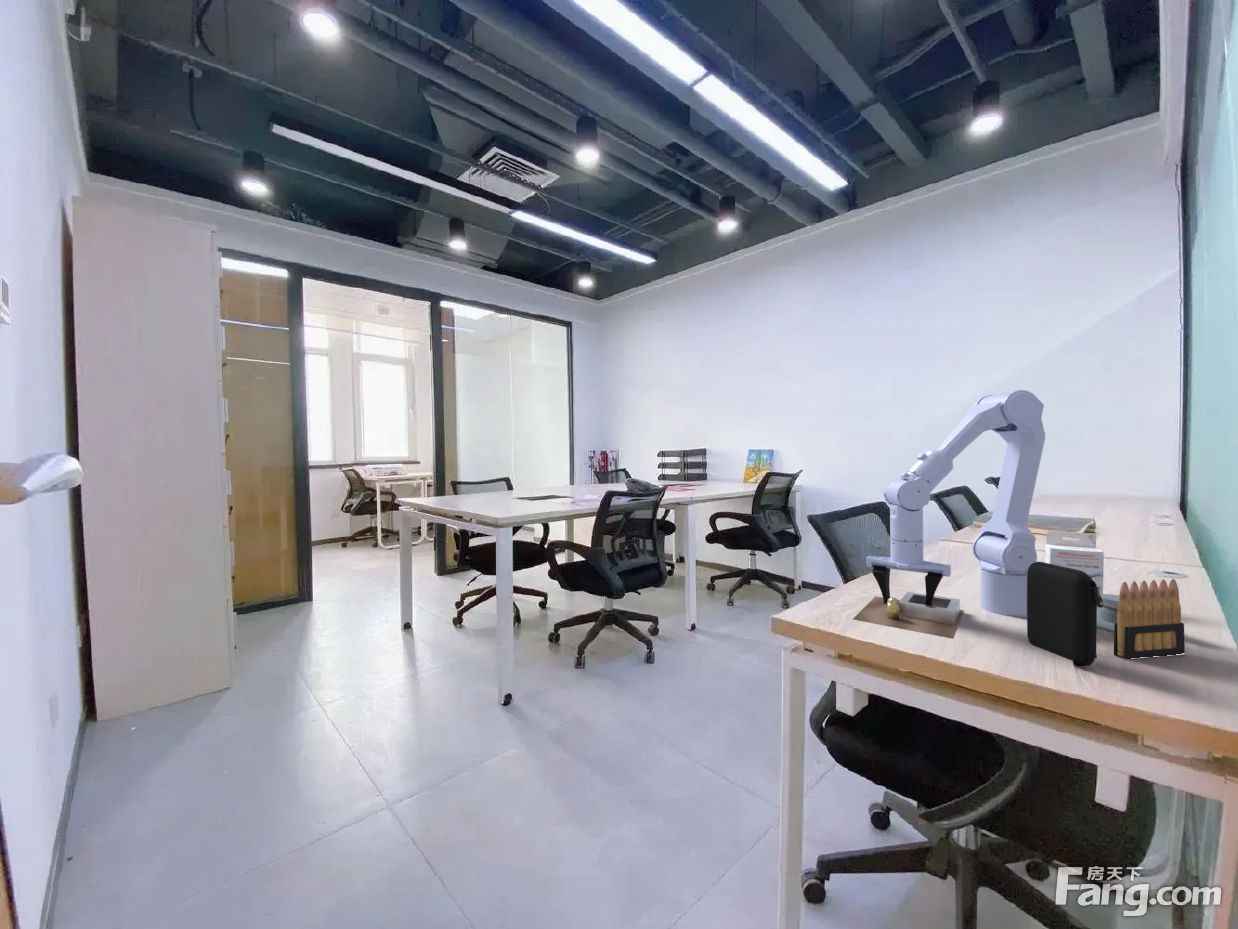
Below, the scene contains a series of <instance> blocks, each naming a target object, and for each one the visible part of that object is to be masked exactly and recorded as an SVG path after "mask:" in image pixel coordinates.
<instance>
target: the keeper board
mask: <svg viewBox="0 0 1238 929" xmlns="http://www.w3.org/2000/svg"><path fill="white" fill-rule="evenodd" d="M897 600H898V601H899V602H900V601H901V599H897ZM964 612H965V610H963V609H960V613H959V616H958V618H957V620H956V623H955V625H951V624H946V623H940V622H934V621H929V620H923V619H918V618H912V617H906V616H901V615H899V620H891V619H888V618H887V604H884V600H883V596H877V595H875V596H874V597H873V598H872V599H871V600H870V601H869V602H868V603H867V604H866V605H865V606H864V607H863V608H862V609H861V610H860V611H859V612H857V614H856V615H855V616H854V617H853V618H852V620H854V621H859V622H860V621H861V622H864V623H870V624H874V625H879V626H885V627H890V628H896V629H900V630H905V631H910V632H911V631H912V632H916V633H922V634H926V635H933V636H938V637H943V638H947V639H948V638H949V639H954V638H955V635H956V632H957V629H958V626H959V624H960V621H961V619H962V616H963V614H964Z"/></svg>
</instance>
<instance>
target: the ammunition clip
mask: <svg viewBox="0 0 1238 929" xmlns="http://www.w3.org/2000/svg"><path fill="white" fill-rule="evenodd" d="M1118 595H1119V605H1118V608H1117V623H1115V624H1114V634H1113V655H1114V656H1116V657H1118V658H1121V657H1122V659H1124V658H1125V659H1124V660H1127V659H1131V658H1140V657H1153V656H1167V655H1176V654H1182V653H1185V654H1186V645H1185V642H1186V641H1185V623H1184V622H1182V606H1181V602H1180V590H1179V585H1178V583H1177V581H1176V579H1175V578H1172V579H1171V580H1170V582H1169V584H1168V583H1167V581H1166V580H1165V579H1161V581H1160V583H1159V585H1158V584H1157V581H1156V580H1155V579H1152V580H1151V582H1150V584H1149V586H1148V583H1147V581H1146V580H1142V581H1141V583H1140V586H1139V584H1137V582H1136V581H1135V580H1134V581H1133V582H1132V583H1131V584H1130V587H1129V585H1128V583H1127V582H1126V581H1123V583H1121V586H1120V589H1119V594H1118ZM1131 660H1132V659H1131Z"/></svg>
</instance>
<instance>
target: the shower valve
mask: <svg viewBox="0 0 1238 929" xmlns="http://www.w3.org/2000/svg"><path fill="white" fill-rule="evenodd" d="M1101 597H1102V600H1103V604H1104V605H1103V607H1102V608H1099V607H1097V630H1101V631H1103V632H1106V633H1110V634H1113V635H1114V624H1115V623H1117V608H1118V605H1119V594H1111V593H1103V594H1101Z"/></svg>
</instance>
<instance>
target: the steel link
mask: <svg viewBox="0 0 1238 929" xmlns="http://www.w3.org/2000/svg"><path fill="white" fill-rule="evenodd" d="M900 600H901V601H900V602H899V615H901V616H906V617H912V618H918V619H923V620H929V621H934V622H940V623H946V624H951V625H955V623H956V620H957V618H958V616H959V613H960V610H961V599H959V598H953V597H945V596H941V595H934V597H933V601H932V606H929V605H925V603H926V593H919V592H911V591H907V592H906V593H905V594H904V596H903V597H902V598H901V599H900Z"/></svg>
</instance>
